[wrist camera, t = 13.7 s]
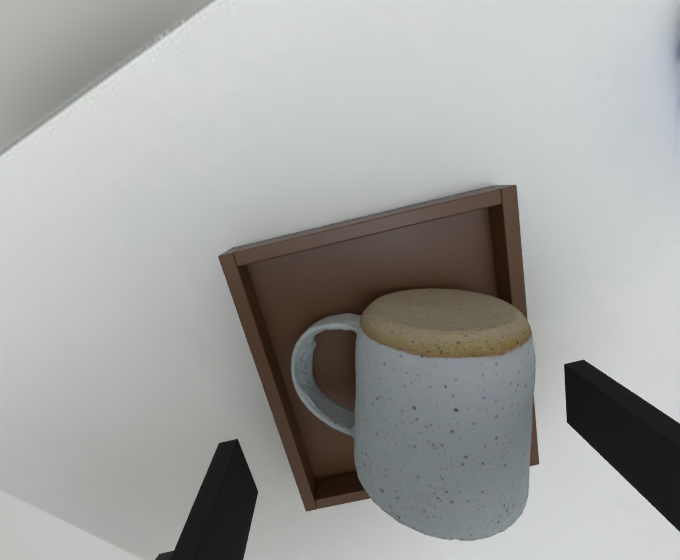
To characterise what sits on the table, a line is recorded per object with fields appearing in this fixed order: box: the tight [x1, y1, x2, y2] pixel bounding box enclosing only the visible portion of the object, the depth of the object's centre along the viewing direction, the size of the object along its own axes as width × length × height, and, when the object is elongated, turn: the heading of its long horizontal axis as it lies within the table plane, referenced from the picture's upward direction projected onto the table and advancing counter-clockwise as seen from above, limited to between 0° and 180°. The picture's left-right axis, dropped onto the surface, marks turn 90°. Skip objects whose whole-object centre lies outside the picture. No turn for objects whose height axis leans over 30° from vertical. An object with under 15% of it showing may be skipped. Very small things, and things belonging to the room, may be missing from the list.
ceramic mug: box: [291, 288, 535, 541], centre depth 15 cm, size 11×8×8 cm
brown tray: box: [219, 185, 539, 511], centre depth 18 cm, size 14×16×2 cm
